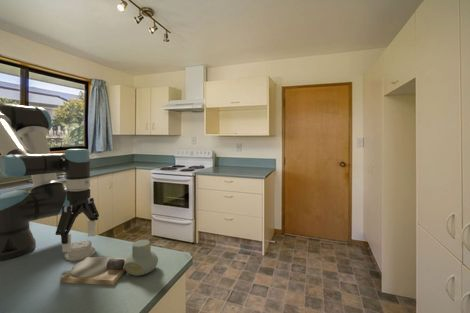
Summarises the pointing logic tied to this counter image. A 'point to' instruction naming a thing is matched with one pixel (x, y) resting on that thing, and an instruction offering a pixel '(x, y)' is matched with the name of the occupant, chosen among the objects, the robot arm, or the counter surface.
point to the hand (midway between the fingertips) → (80, 243)
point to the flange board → (95, 271)
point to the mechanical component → (80, 250)
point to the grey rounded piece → (141, 259)
